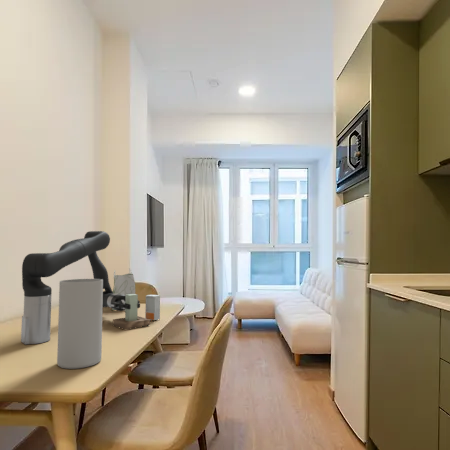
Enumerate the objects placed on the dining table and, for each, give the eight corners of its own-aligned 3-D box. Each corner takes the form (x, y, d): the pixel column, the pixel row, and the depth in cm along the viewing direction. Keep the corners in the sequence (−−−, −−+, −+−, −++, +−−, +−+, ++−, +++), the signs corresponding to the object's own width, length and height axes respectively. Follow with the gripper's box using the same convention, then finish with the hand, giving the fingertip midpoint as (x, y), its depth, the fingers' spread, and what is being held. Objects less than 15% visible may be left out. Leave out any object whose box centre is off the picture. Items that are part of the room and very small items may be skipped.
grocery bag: (110, 303, 225) (111, 267, 227) (132, 302, 230) (132, 267, 231) (110, 311, 195) (111, 270, 196) (135, 310, 199) (136, 269, 201)
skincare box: (144, 320, 170) (145, 295, 171) (150, 318, 174) (150, 294, 175) (154, 321, 167) (154, 296, 168) (160, 319, 171) (160, 295, 172)
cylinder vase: (106, 356, 112) (108, 278, 114) (93, 369, 100) (95, 282, 102) (67, 356, 112) (69, 278, 114) (49, 370, 100) (52, 282, 101)
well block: (124, 330, 149) (125, 323, 149) (112, 325, 158) (113, 319, 158) (149, 325, 157) (149, 319, 157) (136, 321, 166) (136, 315, 166)
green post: (129, 322, 155) (129, 295, 156) (125, 321, 158) (125, 294, 159) (137, 321, 158) (137, 294, 158) (133, 319, 161) (133, 293, 161)
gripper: (103, 295, 164) (119, 299, 152) (131, 292, 174) (148, 296, 161) (103, 311, 164) (119, 316, 151) (131, 308, 173) (148, 312, 161)
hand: (134, 306), depth 156 cm, fingers closed on green post, 4 cm apart
